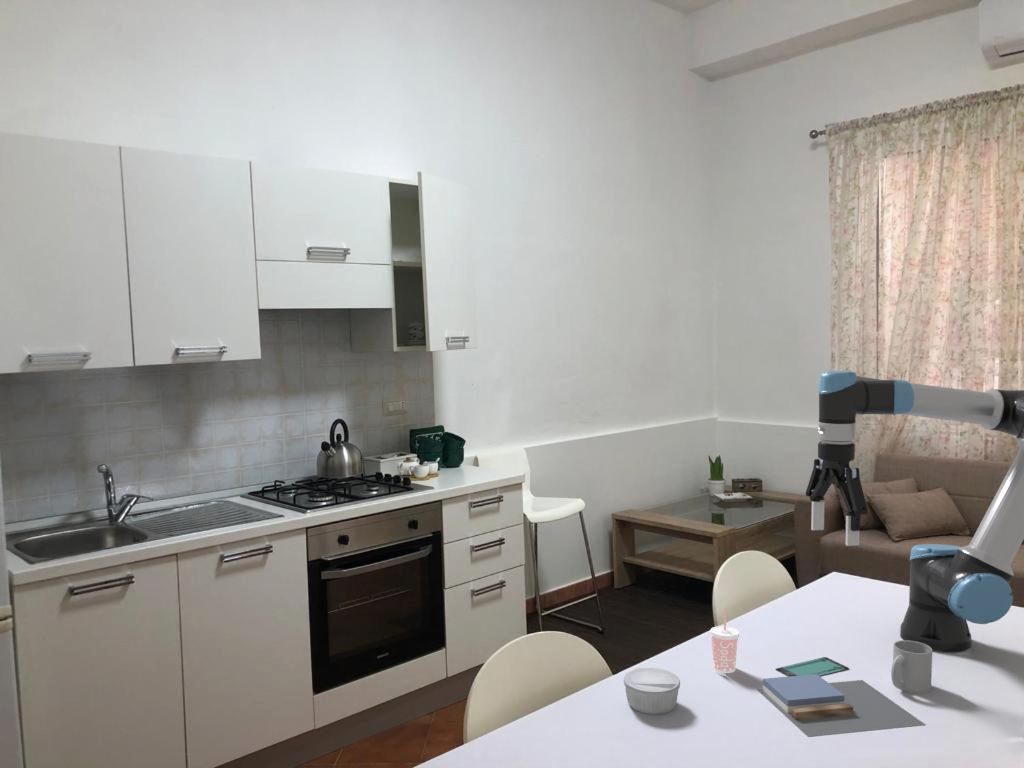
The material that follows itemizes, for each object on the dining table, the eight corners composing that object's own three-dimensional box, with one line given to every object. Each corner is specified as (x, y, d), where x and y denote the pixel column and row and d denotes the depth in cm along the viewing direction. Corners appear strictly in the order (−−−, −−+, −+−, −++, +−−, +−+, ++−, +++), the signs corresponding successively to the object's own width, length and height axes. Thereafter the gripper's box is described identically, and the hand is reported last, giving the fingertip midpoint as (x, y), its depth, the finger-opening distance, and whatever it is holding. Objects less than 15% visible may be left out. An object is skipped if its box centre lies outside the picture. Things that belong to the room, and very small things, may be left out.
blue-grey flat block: (844, 707, 161) (816, 685, 171) (844, 695, 161) (816, 674, 170) (787, 712, 159) (762, 690, 168) (787, 700, 158) (762, 678, 168)
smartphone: (774, 668, 179) (825, 655, 185) (773, 673, 179) (825, 661, 185) (798, 681, 172) (851, 668, 179) (798, 687, 172) (851, 673, 179)
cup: (938, 691, 169) (939, 649, 168) (909, 703, 164) (910, 659, 163) (905, 678, 175) (907, 637, 175) (876, 689, 170) (877, 647, 169)
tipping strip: (848, 711, 159) (848, 703, 159) (853, 714, 158) (853, 707, 158) (791, 716, 157) (791, 708, 157) (795, 720, 156) (795, 712, 156)
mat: (862, 682, 173) (862, 679, 173) (926, 727, 154) (926, 724, 154) (756, 692, 169) (756, 689, 169) (808, 739, 149) (808, 736, 149)
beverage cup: (706, 673, 178) (707, 610, 177) (713, 663, 184) (714, 602, 183) (735, 679, 175) (736, 615, 174) (741, 668, 181) (742, 606, 180)
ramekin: (645, 722, 156) (645, 695, 156) (612, 699, 166) (612, 674, 166) (691, 709, 162) (692, 683, 161) (656, 688, 172) (657, 663, 171)
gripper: (791, 434, 191) (789, 524, 193) (854, 450, 167) (851, 553, 168) (820, 433, 192) (819, 523, 194) (887, 449, 168) (884, 551, 169)
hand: (834, 537), depth 181 cm, fingers open, 13 cm apart
